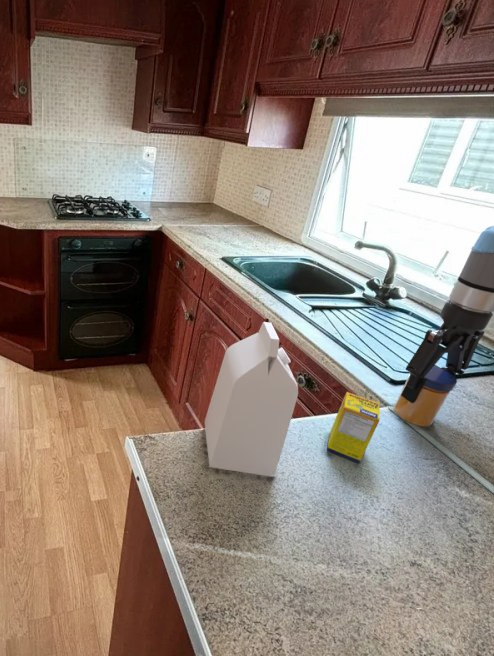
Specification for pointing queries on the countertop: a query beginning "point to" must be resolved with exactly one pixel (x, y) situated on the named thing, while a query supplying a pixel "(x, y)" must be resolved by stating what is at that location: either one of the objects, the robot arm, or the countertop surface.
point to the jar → (421, 406)
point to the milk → (251, 405)
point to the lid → (440, 380)
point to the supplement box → (353, 427)
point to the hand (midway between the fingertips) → (421, 396)
